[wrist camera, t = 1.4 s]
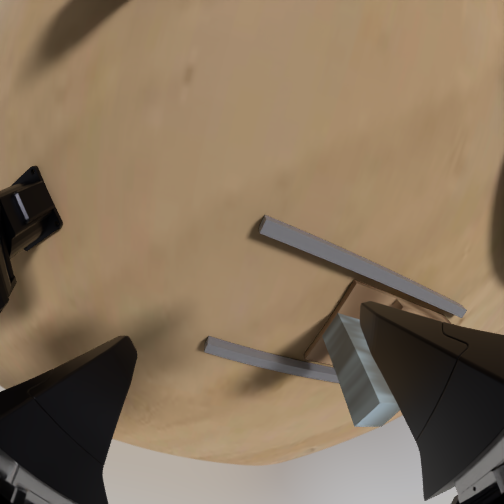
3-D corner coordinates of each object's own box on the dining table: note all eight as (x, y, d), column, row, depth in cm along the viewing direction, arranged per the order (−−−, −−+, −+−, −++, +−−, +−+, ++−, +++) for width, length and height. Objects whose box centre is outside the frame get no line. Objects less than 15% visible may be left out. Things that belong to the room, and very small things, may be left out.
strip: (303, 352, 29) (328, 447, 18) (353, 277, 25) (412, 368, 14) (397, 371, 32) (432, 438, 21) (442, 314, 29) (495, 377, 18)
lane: (205, 343, 27) (204, 351, 26) (264, 214, 22) (266, 219, 21) (398, 384, 33) (401, 390, 32) (461, 305, 28) (467, 310, 27)
